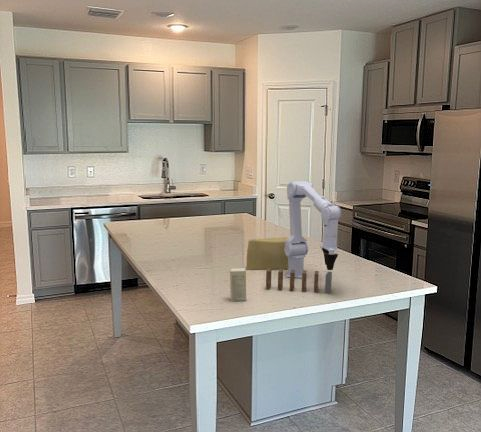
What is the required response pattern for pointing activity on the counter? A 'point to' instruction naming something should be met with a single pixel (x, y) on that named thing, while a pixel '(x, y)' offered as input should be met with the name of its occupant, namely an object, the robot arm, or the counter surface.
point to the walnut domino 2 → (280, 279)
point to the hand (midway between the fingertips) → (328, 267)
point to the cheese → (267, 254)
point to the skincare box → (238, 284)
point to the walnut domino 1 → (268, 279)
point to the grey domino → (328, 282)
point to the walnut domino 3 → (292, 280)
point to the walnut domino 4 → (304, 280)
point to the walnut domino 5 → (316, 281)
